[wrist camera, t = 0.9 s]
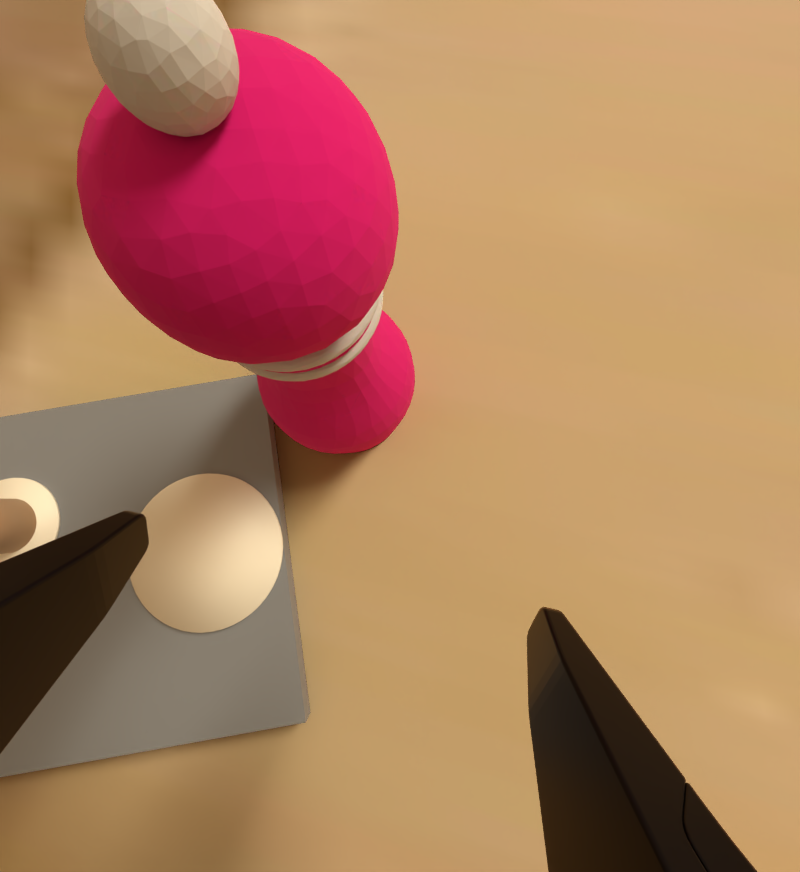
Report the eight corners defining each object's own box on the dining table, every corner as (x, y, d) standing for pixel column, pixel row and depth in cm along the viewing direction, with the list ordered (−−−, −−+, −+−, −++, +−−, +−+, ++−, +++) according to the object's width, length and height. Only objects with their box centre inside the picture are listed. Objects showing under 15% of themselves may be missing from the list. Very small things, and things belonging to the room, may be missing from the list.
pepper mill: (300, 474, 24) (-199, 344, 4) (276, 353, 25) (-208, -206, 5) (426, 445, 24) (524, 188, 4) (397, 326, 25) (370, -313, 5)
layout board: (-21, 771, 22) (-180, 872, 16) (-27, 427, 24) (-165, 404, 19) (310, 712, 22) (275, 790, 16) (267, 378, 25) (224, 339, 19)
